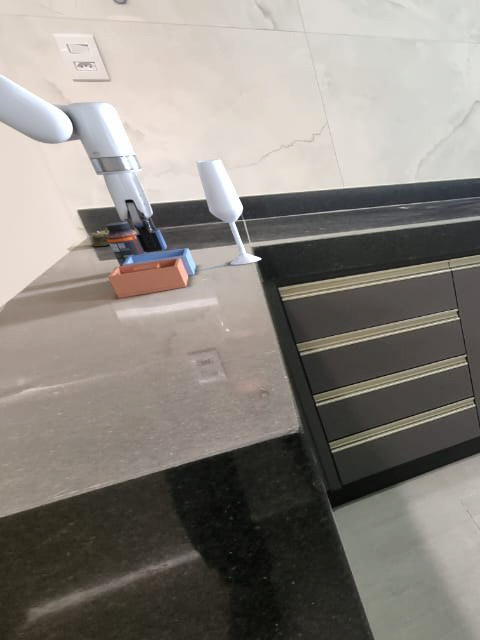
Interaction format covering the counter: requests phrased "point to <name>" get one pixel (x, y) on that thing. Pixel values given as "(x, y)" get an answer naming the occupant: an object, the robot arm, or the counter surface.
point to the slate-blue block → (158, 239)
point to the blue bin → (164, 255)
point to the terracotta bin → (148, 278)
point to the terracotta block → (146, 267)
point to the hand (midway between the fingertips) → (154, 248)
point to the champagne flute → (223, 201)
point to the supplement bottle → (123, 241)
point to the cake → (101, 238)
